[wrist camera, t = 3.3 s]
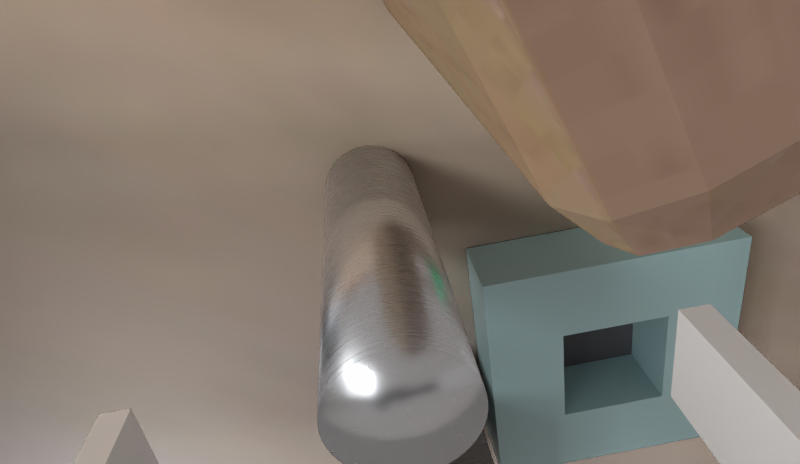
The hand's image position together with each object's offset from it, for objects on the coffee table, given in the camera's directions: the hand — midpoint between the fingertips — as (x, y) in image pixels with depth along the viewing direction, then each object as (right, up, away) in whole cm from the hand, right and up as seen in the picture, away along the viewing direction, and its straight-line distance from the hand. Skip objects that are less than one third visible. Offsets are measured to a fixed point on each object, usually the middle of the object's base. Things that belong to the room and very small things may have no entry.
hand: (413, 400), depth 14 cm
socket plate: (+10, -1, +17) cm, 19 cm away
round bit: (-2, +6, +12) cm, 13 cm away
